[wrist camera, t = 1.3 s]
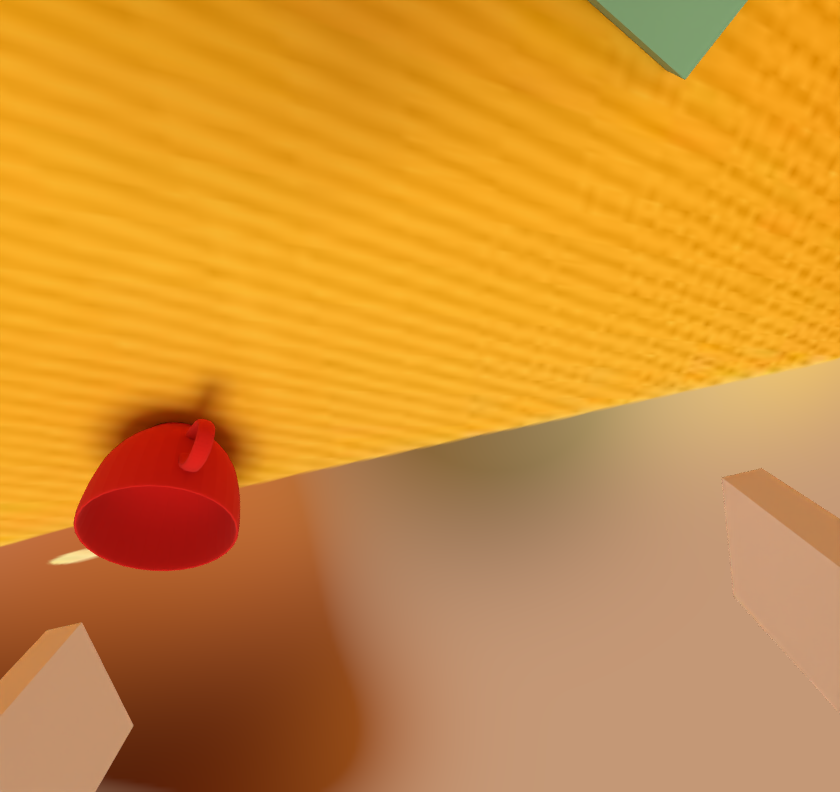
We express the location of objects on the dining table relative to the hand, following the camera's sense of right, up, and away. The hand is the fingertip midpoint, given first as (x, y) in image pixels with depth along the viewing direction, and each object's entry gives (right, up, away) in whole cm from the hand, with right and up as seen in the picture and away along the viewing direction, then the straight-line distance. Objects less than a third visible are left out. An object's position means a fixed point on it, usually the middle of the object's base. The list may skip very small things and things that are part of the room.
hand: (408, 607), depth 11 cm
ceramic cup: (-23, +1, +42) cm, 47 cm away
